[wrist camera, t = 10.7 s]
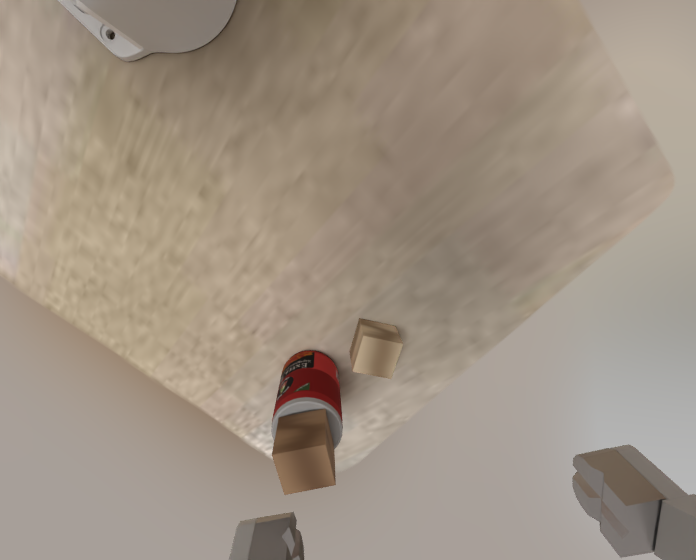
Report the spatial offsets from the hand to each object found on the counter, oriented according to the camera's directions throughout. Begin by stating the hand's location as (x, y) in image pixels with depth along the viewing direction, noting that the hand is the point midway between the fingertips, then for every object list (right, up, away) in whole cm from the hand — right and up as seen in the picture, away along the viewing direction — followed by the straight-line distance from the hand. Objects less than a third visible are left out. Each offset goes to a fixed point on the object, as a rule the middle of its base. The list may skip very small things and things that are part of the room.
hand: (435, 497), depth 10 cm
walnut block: (-7, -10, +27) cm, 30 cm away
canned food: (-8, -7, +38) cm, 39 cm away
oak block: (+1, -2, +37) cm, 37 cm away
